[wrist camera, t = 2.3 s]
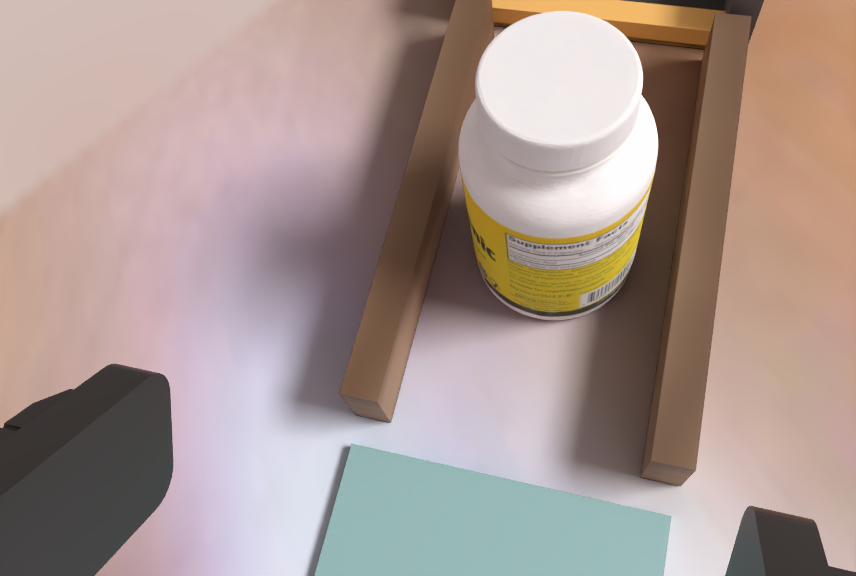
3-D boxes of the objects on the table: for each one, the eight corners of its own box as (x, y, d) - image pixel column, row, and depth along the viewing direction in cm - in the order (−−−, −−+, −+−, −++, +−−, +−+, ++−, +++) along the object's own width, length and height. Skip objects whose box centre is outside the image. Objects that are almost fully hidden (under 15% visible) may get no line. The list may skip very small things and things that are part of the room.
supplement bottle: (481, 182, 30) (458, -15, 21) (634, 188, 29) (678, -16, 20) (467, 320, 28) (435, 166, 19) (631, 331, 27) (679, 175, 18)
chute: (356, 415, 27) (339, 393, 24) (464, 32, 32) (459, -14, 30) (681, 486, 25) (695, 469, 22) (735, 63, 30) (751, 16, 28)
